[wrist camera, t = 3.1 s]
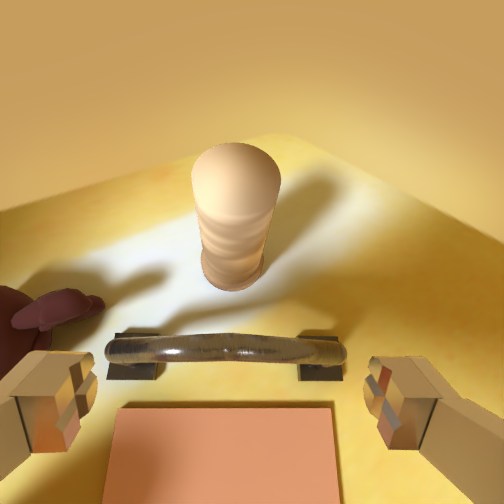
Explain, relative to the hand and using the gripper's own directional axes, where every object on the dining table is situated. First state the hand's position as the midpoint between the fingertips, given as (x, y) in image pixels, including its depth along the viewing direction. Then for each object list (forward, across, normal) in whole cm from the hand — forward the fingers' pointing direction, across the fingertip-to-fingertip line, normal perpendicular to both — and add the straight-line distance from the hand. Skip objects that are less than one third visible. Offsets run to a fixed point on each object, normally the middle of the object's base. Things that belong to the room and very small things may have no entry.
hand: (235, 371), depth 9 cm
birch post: (+16, 0, +3) cm, 16 cm away
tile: (+5, 0, +14) cm, 15 cm away
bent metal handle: (+10, 0, +8) cm, 13 cm away
